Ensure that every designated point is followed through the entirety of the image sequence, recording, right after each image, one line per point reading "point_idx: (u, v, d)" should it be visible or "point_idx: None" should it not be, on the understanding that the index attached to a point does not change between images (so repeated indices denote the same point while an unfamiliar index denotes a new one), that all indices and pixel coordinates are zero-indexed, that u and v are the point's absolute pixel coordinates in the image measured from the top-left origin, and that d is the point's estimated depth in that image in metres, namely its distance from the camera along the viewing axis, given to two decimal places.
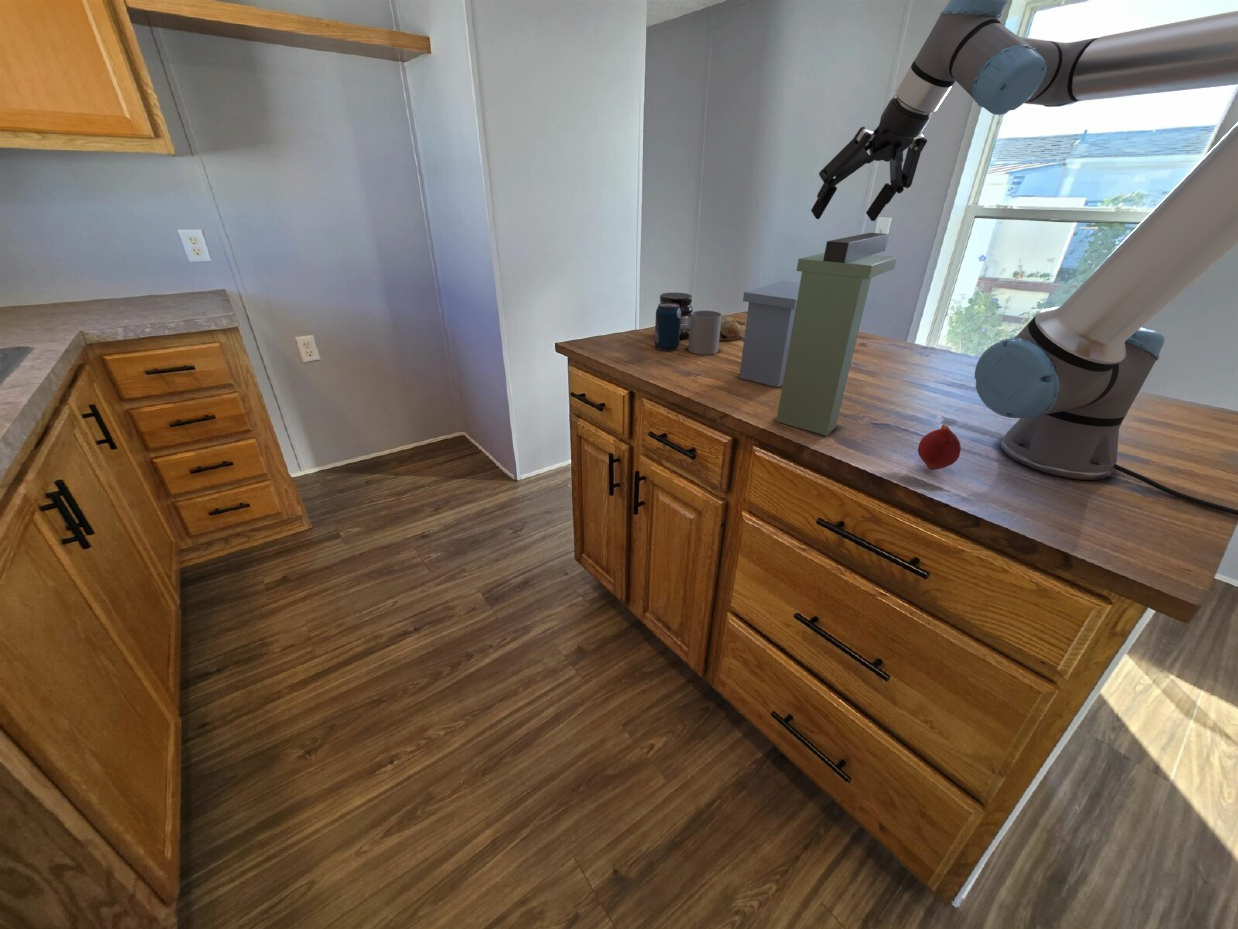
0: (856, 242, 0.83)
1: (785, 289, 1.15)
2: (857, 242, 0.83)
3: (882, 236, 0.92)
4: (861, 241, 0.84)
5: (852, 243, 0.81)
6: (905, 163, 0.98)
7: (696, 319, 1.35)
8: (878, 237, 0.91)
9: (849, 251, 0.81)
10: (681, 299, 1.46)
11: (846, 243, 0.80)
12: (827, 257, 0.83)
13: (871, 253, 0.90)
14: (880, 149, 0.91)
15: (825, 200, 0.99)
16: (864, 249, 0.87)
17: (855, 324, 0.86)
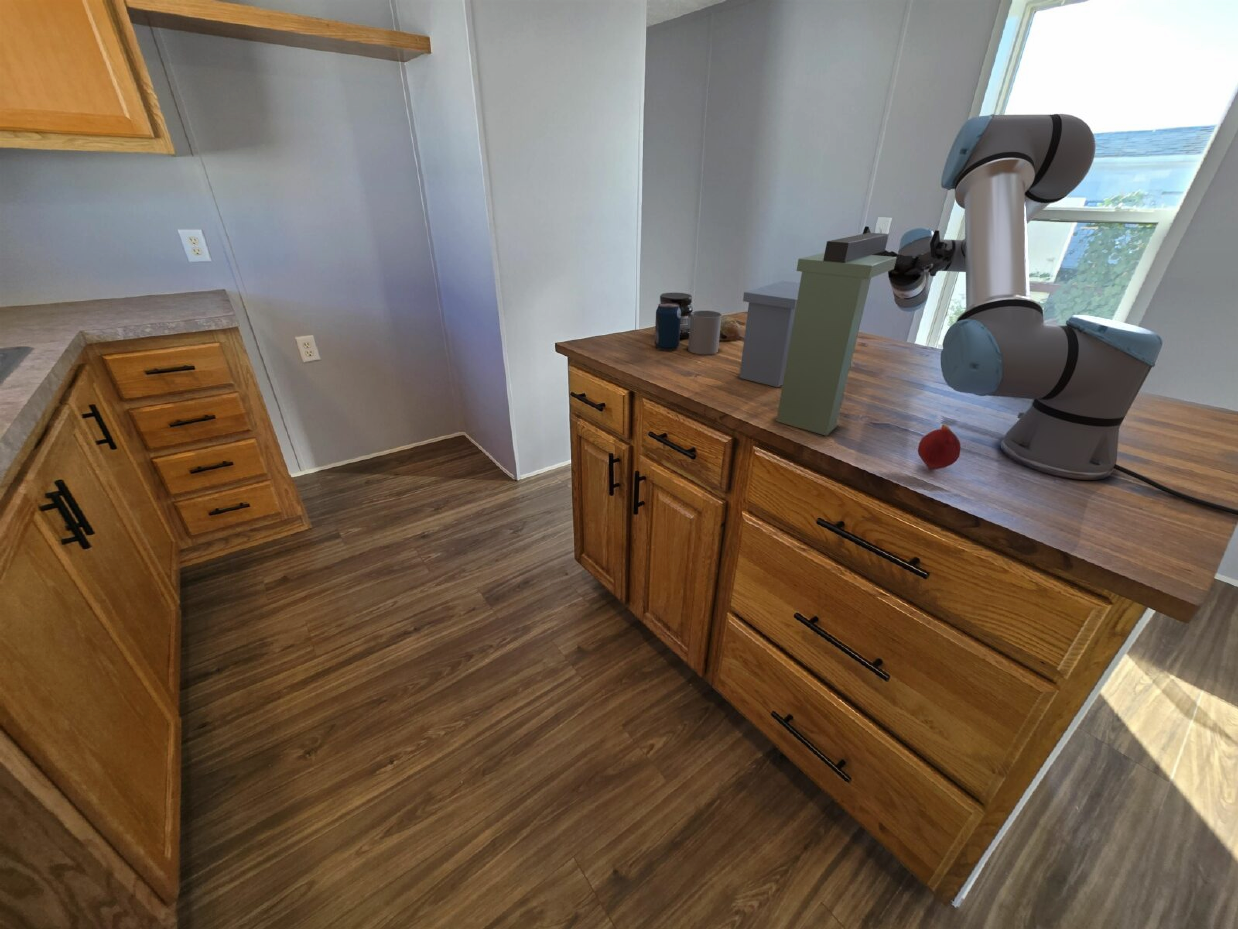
0: (856, 242, 0.83)
1: (785, 289, 1.15)
2: (857, 242, 0.83)
3: (882, 236, 0.92)
4: (861, 241, 0.84)
5: (852, 243, 0.81)
6: (938, 264, 1.10)
7: (696, 319, 1.35)
8: (878, 237, 0.91)
9: (849, 251, 0.81)
10: (681, 299, 1.46)
11: (846, 243, 0.80)
12: (827, 257, 0.83)
13: (871, 253, 0.90)
14: None
15: None
16: (864, 249, 0.87)
17: (855, 324, 0.86)
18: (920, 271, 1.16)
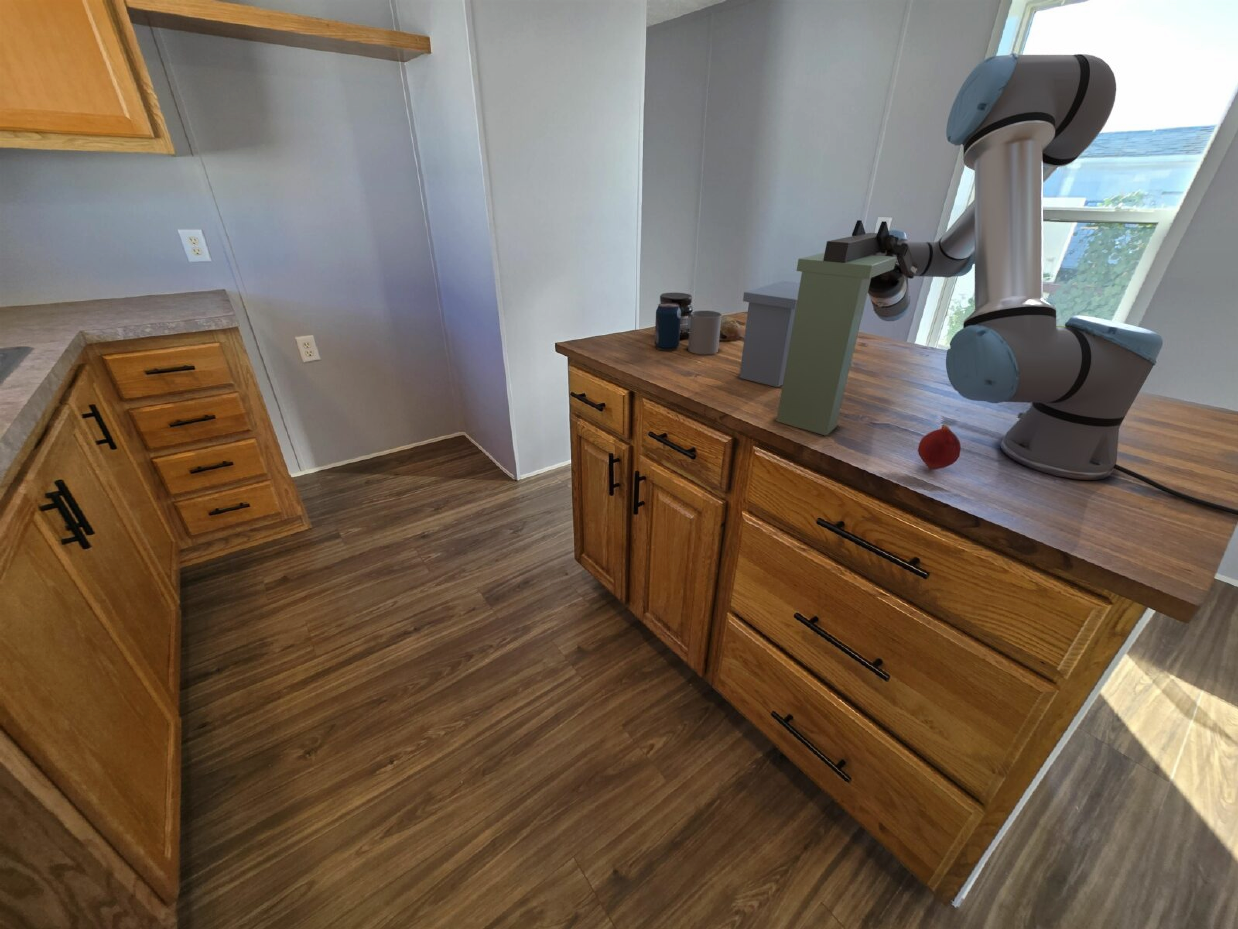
0: (856, 242, 0.83)
1: (785, 289, 1.15)
2: (857, 242, 0.83)
3: None
4: (861, 241, 0.84)
5: (852, 243, 0.81)
6: None
7: (696, 319, 1.35)
8: None
9: (849, 251, 0.81)
10: (681, 299, 1.46)
11: (846, 243, 0.80)
12: (827, 257, 0.83)
13: (871, 253, 0.90)
14: None
15: None
16: (864, 249, 0.87)
17: (855, 324, 0.86)
18: (898, 276, 1.02)
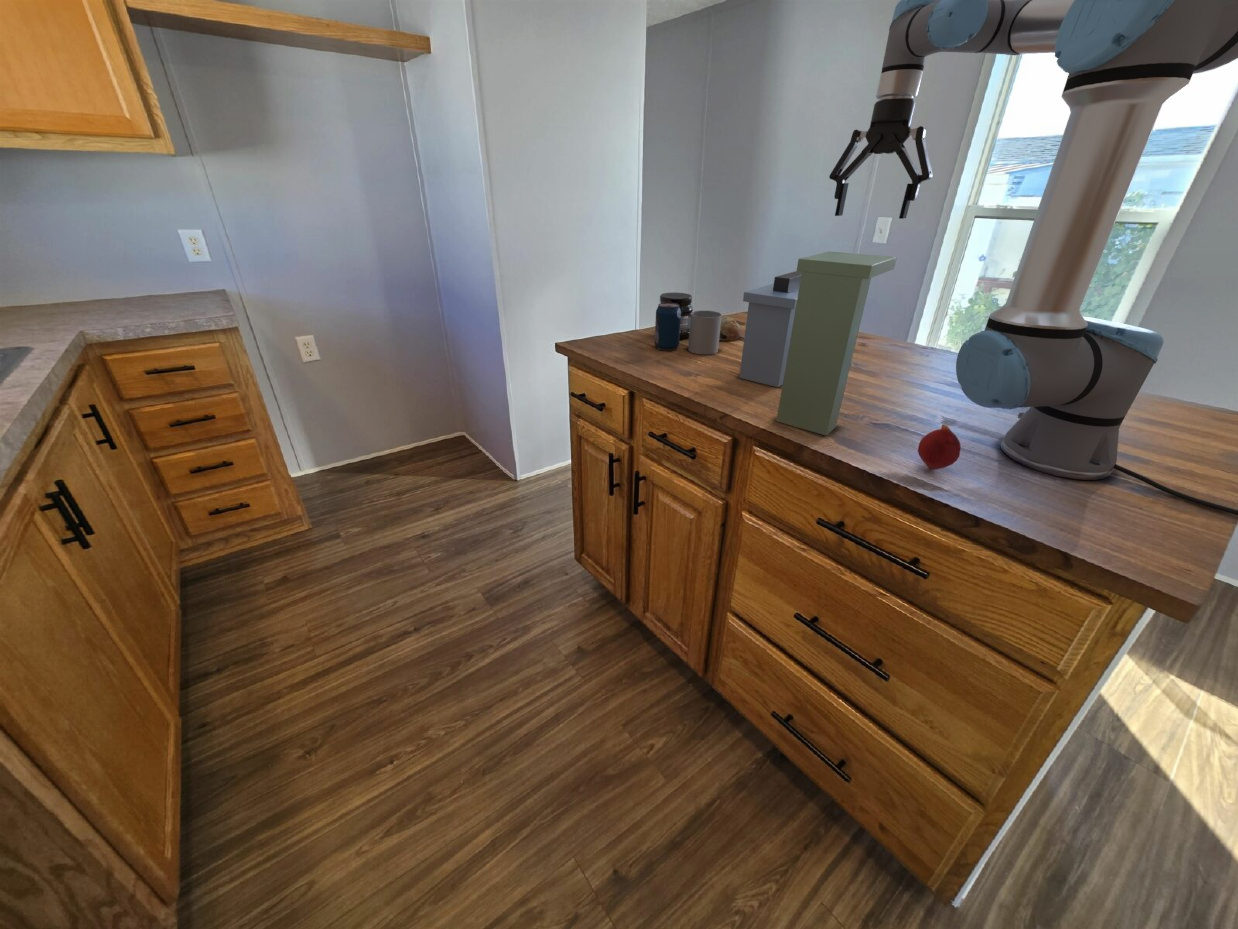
0: (796, 277, 1.13)
1: None
2: (797, 277, 1.13)
3: None
4: None
5: (793, 278, 1.11)
6: None
7: (696, 319, 1.35)
8: None
9: (790, 284, 1.11)
10: (681, 299, 1.46)
11: (788, 279, 1.10)
12: (775, 288, 1.13)
13: None
14: (871, 140, 1.05)
15: (838, 197, 1.14)
16: None
17: (855, 324, 0.86)
18: None
